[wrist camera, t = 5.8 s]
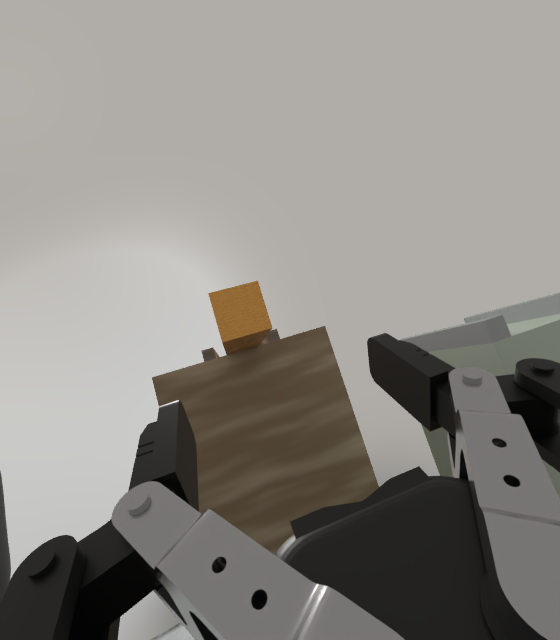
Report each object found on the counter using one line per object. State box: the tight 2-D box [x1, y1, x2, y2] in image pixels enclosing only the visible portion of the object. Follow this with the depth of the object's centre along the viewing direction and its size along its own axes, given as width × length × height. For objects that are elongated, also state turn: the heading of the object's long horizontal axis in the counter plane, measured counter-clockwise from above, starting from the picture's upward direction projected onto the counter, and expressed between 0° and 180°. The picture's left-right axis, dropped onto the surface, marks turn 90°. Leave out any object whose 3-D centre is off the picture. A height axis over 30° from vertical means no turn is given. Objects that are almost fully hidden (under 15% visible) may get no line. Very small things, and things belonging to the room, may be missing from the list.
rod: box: [209, 281, 272, 355], centre depth 30 cm, size 24×3×3 cm, turn 8°
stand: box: [152, 326, 379, 554], centre depth 32 cm, size 14×16×33 cm
